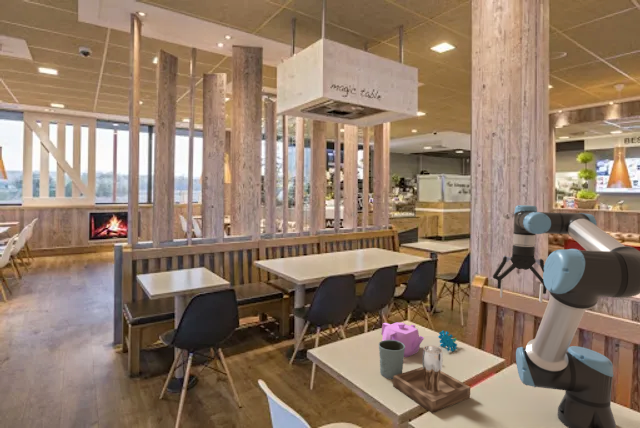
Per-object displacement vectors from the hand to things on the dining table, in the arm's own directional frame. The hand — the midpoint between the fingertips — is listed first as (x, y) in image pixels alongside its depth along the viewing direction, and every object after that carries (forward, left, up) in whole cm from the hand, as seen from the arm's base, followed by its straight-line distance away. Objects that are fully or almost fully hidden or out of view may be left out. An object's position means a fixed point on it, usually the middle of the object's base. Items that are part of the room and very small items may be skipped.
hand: (520, 299), depth 144 cm
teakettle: (+41, +22, -32) cm, 56 cm away
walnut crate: (+9, +38, -32) cm, 50 cm away
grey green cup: (+26, +42, -32) cm, 59 cm away
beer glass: (+9, +38, -31) cm, 50 cm away
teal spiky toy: (+32, +2, -32) cm, 45 cm away
